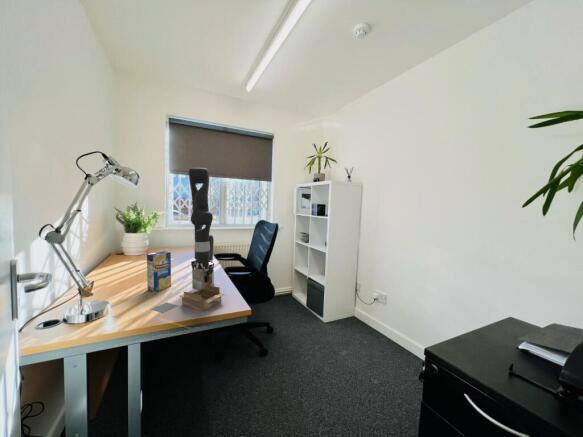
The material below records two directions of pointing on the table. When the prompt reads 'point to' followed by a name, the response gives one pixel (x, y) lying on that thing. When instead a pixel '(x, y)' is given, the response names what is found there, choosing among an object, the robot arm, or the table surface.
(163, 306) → the felt mat
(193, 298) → the kraft carton
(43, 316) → the table surface
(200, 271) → the walnut block
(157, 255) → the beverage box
